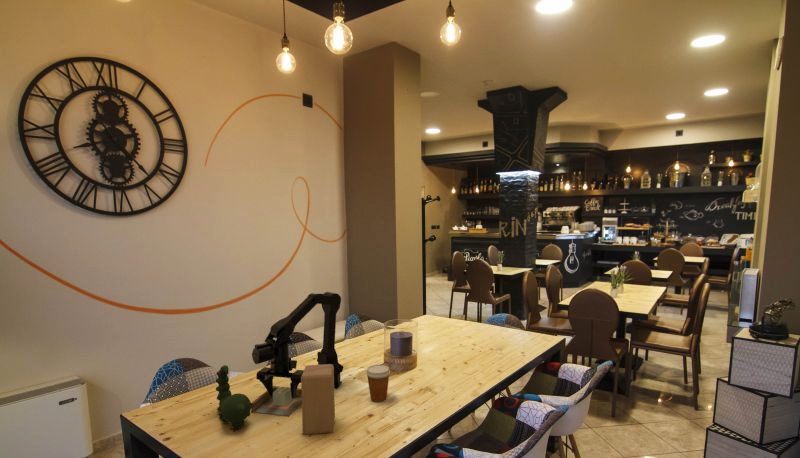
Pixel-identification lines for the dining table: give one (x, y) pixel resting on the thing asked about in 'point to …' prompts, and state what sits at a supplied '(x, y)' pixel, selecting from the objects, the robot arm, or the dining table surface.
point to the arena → (266, 406)
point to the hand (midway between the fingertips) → (282, 396)
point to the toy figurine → (231, 402)
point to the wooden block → (318, 399)
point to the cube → (282, 396)
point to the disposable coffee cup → (378, 382)
